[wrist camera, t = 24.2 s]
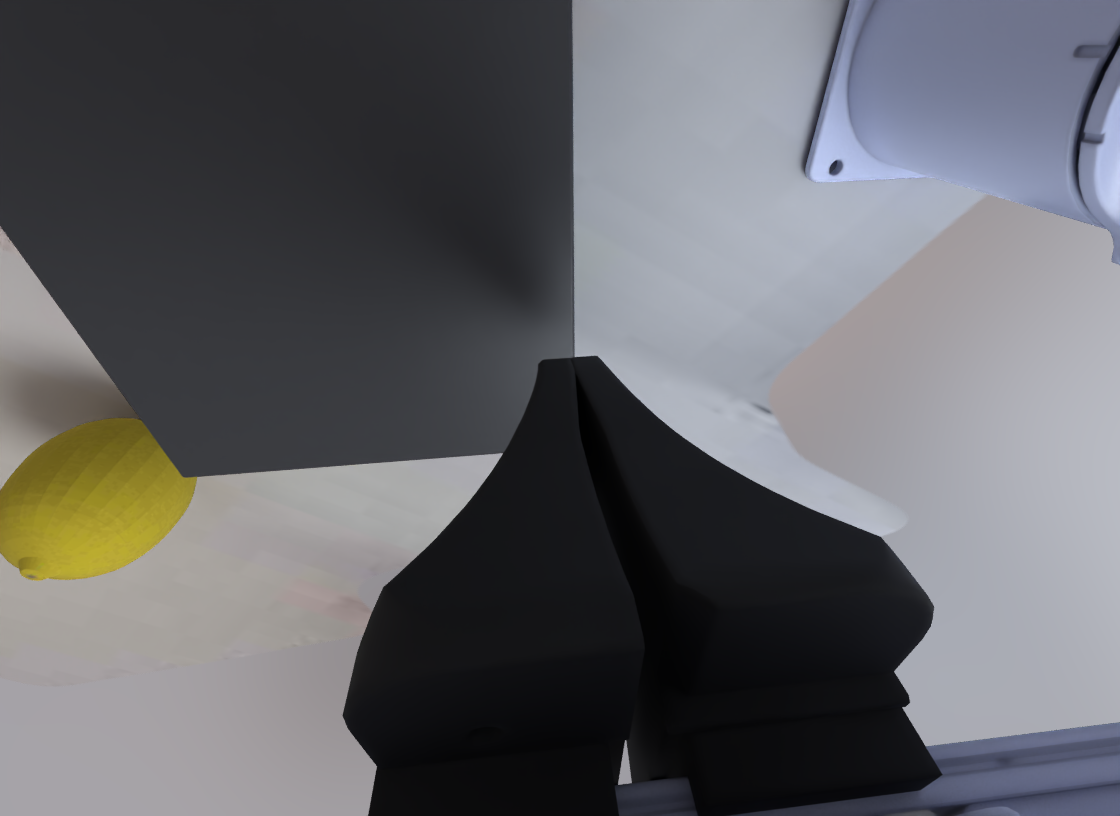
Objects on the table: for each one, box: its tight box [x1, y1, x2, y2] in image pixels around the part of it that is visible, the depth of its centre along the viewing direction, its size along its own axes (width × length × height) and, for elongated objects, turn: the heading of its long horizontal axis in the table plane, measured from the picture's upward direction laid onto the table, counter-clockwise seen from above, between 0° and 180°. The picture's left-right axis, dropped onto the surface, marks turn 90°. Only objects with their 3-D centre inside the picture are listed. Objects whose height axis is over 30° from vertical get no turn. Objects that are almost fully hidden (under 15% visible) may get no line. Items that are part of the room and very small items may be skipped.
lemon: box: [0, 418, 197, 581], centre depth 20 cm, size 6×6×8 cm
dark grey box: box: [0, 0, 575, 478], centre depth 14 cm, size 15×13×8 cm
